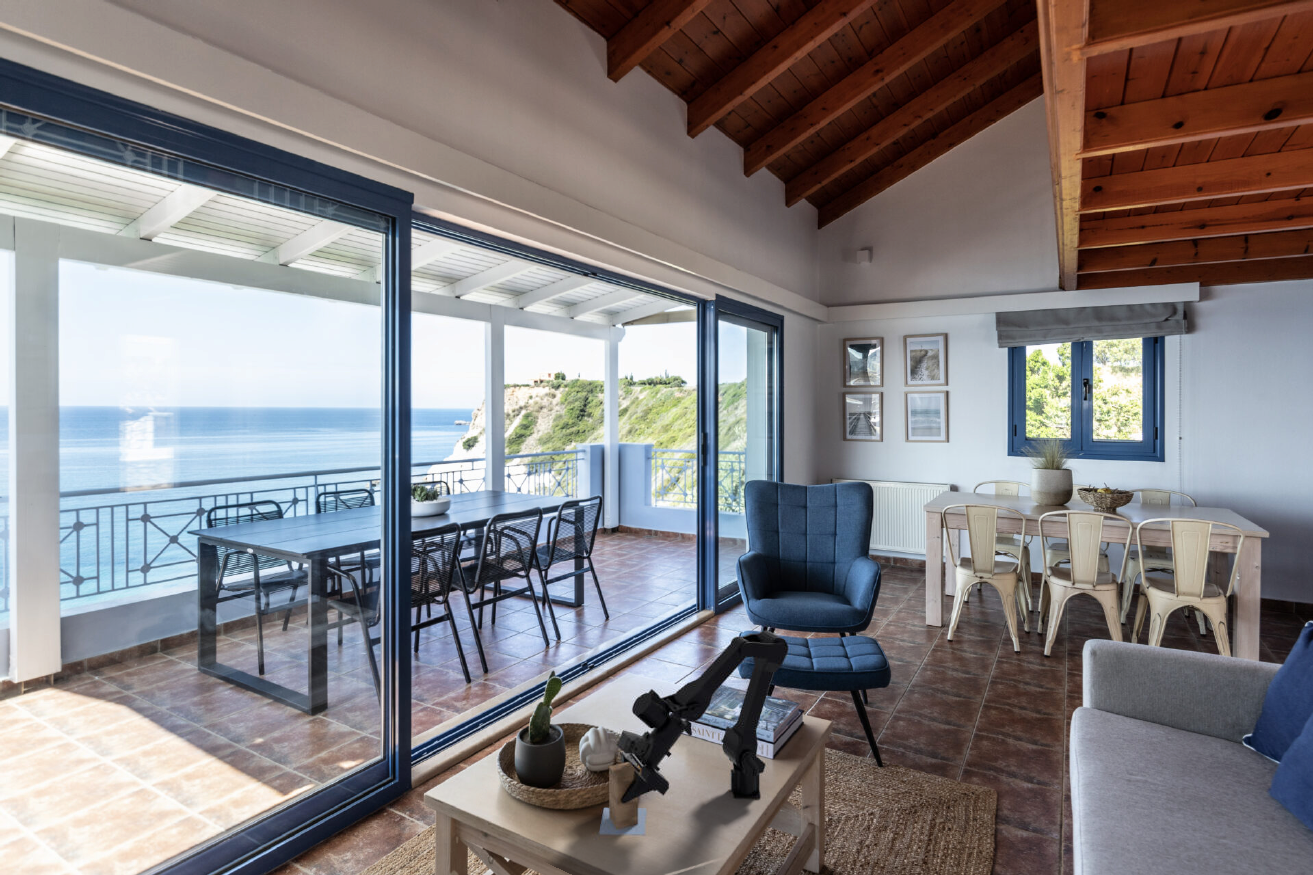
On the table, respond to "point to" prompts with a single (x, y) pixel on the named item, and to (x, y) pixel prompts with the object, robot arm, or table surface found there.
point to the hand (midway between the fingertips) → (617, 796)
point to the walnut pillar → (618, 785)
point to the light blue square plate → (609, 828)
